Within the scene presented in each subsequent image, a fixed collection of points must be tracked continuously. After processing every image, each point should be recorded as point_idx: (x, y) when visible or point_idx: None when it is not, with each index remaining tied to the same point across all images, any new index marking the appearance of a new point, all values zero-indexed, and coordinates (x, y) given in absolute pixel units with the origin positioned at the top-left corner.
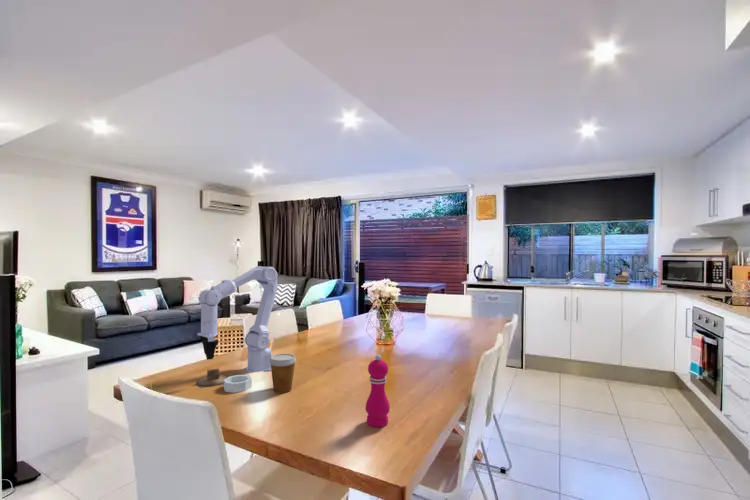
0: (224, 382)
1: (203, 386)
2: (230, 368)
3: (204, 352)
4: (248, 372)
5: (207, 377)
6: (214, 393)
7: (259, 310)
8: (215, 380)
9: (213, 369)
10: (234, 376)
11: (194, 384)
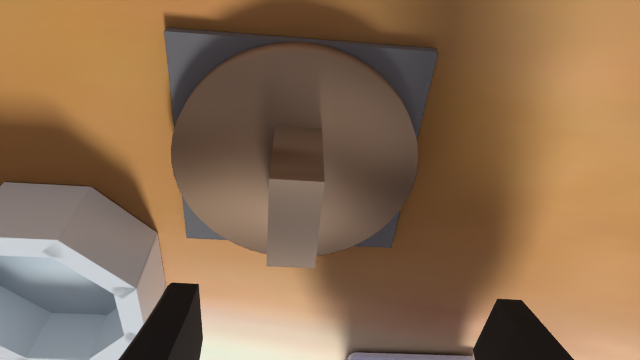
0: (18, 228)
1: (196, 68)
2: (557, 298)
3: (513, 321)
4: (356, 355)
5: (286, 140)
6: (6, 115)
7: None
8: (242, 178)
9: (304, 230)
10: (119, 307)
11: (342, 5)
